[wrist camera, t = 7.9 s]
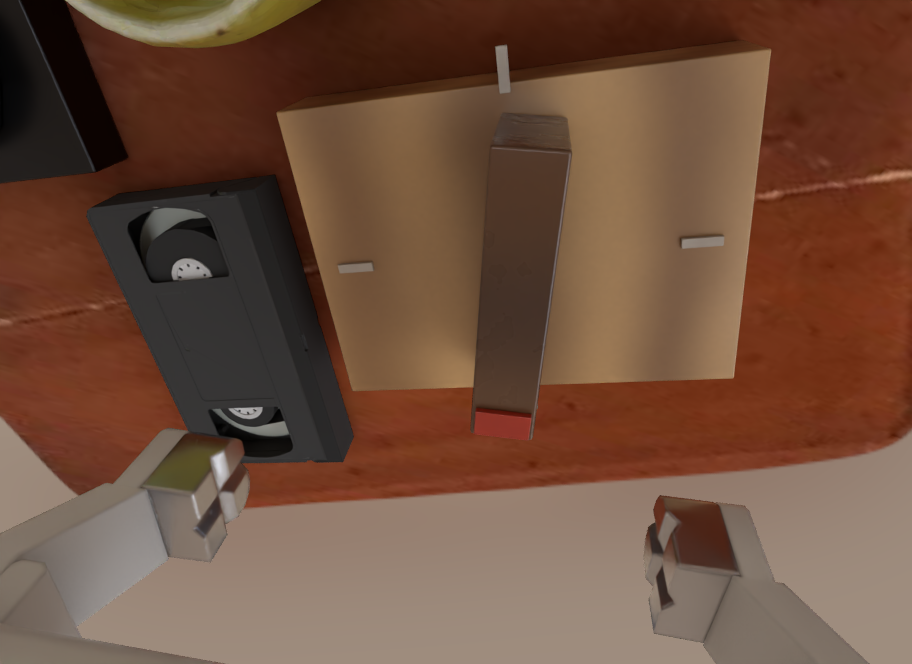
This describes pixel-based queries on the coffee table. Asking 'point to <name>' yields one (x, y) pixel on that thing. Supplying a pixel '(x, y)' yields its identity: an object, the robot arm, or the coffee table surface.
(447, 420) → the coffee table surface
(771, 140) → the coffee table surface
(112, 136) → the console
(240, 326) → the vhs tape
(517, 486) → the coffee table surface
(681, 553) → the robot arm
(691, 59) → the base
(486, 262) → the brown block
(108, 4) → the mug
